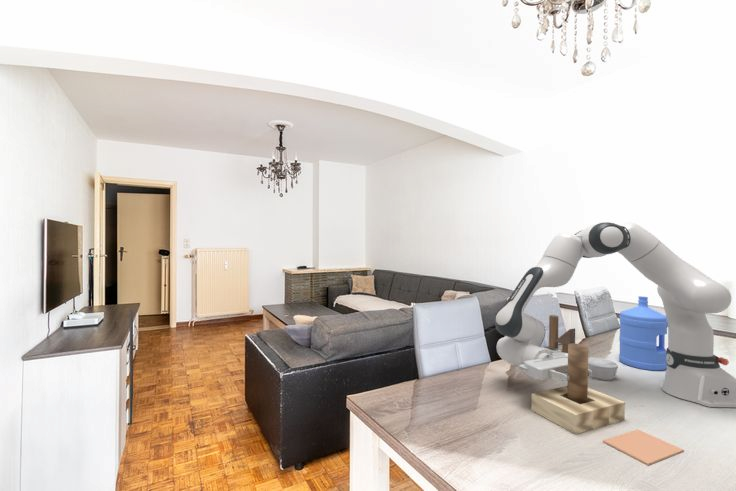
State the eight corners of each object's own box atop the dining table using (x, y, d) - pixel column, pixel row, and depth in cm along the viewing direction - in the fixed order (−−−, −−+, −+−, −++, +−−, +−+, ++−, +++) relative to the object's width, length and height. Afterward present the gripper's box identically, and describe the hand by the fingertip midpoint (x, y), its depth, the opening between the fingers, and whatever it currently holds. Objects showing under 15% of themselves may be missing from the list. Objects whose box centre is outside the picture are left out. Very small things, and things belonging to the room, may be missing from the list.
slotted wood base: (577, 399, 111) (577, 383, 111) (624, 419, 98) (624, 402, 98) (531, 410, 103) (531, 393, 103) (575, 434, 91) (575, 415, 91)
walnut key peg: (583, 411, 103) (584, 344, 103) (590, 420, 98) (591, 349, 98) (564, 409, 104) (565, 342, 104) (570, 418, 99) (571, 347, 99)
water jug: (625, 367, 140) (626, 298, 140) (614, 356, 155) (615, 293, 155) (674, 373, 134) (675, 301, 134) (658, 361, 149) (658, 295, 149)
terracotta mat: (637, 430, 93) (637, 429, 93) (683, 451, 83) (683, 449, 83) (602, 441, 87) (602, 440, 87) (648, 465, 78) (648, 463, 78)
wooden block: (569, 363, 146) (570, 320, 145) (546, 355, 155) (547, 315, 155) (575, 361, 147) (575, 319, 147) (552, 354, 157) (552, 314, 157)
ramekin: (618, 384, 124) (618, 369, 124) (581, 377, 130) (582, 363, 130) (616, 374, 134) (616, 360, 134) (582, 368, 140) (582, 355, 140)
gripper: (514, 355, 109) (553, 370, 96) (560, 347, 117) (602, 360, 104) (514, 375, 109) (553, 392, 96) (560, 366, 117) (602, 381, 104)
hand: (579, 376), depth 100 cm, fingers open, 8 cm apart
